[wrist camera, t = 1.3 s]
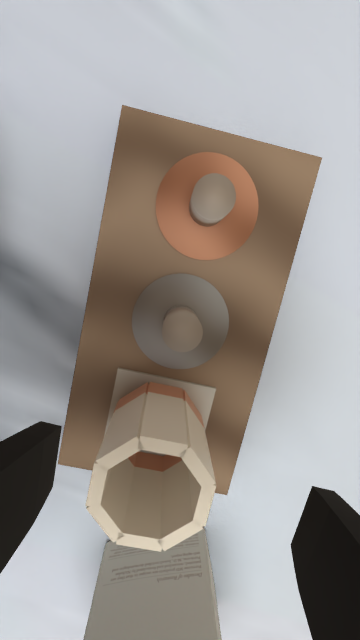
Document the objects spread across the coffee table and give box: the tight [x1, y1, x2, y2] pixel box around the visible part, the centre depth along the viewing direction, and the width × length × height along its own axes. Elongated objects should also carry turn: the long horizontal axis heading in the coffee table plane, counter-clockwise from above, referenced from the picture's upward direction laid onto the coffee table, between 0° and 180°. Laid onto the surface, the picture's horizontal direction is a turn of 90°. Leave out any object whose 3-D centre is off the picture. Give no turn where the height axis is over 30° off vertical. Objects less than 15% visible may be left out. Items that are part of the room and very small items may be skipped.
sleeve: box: [86, 382, 216, 552], centre depth 16 cm, size 5×5×6 cm
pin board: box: [58, 105, 322, 495], centre depth 17 cm, size 21×11×4 cm, turn 167°
